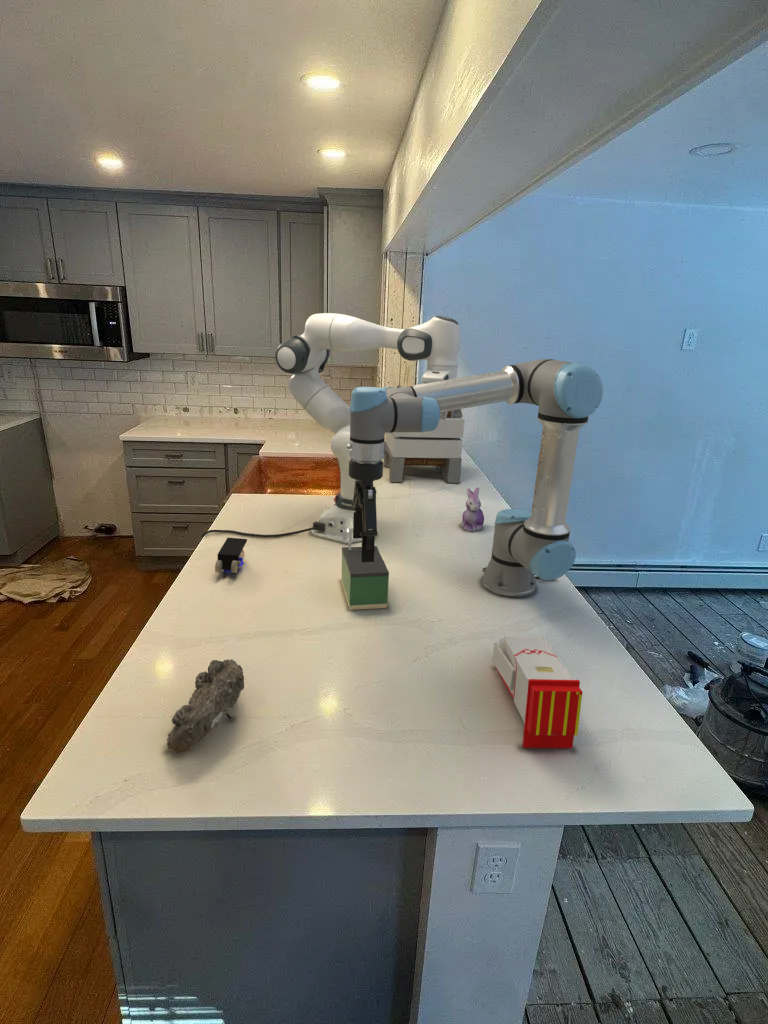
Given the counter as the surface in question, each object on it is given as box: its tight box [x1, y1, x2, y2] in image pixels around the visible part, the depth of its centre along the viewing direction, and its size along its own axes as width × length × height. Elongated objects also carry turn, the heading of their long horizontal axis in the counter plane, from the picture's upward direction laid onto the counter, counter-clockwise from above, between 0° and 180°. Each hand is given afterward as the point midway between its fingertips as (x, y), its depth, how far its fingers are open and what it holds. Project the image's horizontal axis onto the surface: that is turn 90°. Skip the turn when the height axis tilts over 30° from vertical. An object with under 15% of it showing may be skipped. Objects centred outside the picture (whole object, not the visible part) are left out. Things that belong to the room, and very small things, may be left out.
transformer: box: [383, 384, 465, 484], centre depth 268 cm, size 34×33×41 cm
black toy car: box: [214, 537, 248, 578], centre depth 166 cm, size 7×8×15 cm
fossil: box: [166, 658, 245, 754], centre depth 106 cm, size 22×10×15 cm
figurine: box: [461, 486, 485, 532], centre depth 206 cm, size 9×10×15 cm
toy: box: [491, 636, 583, 749], centre depth 115 cm, size 12×13×30 cm
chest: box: [340, 551, 390, 611], centre depth 156 cm, size 17×10×9 cm, turn 11°
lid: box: [341, 526, 390, 577], centre depth 153 cm, size 17×10×8 cm, turn 11°
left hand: (437, 421), depth 171 cm, fingers open, 8 cm apart
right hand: (362, 549), depth 131 cm, fingers open, 13 cm apart
